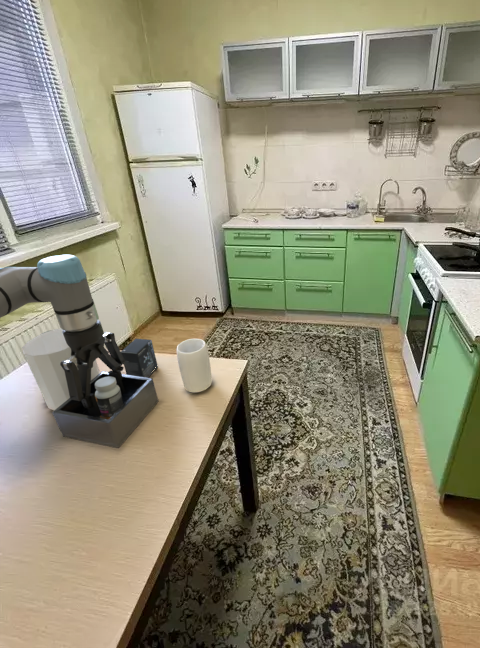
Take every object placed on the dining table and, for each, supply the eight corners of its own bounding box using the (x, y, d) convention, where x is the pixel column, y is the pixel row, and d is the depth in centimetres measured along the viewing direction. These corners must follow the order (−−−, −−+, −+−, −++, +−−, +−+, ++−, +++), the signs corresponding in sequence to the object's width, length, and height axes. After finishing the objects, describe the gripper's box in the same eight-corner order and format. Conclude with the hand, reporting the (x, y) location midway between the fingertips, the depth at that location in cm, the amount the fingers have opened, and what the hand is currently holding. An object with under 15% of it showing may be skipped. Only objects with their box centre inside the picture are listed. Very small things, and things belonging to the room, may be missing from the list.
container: (113, 388, 95) (95, 335, 88) (60, 419, 85) (35, 362, 77) (88, 372, 103) (70, 322, 95) (37, 398, 92) (12, 345, 84)
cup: (217, 378, 98) (211, 338, 92) (206, 397, 90) (199, 355, 84) (191, 376, 99) (183, 336, 93) (178, 395, 92) (169, 353, 86)
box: (144, 382, 97) (136, 353, 92) (128, 381, 98) (119, 351, 93) (158, 367, 104) (151, 339, 99) (143, 365, 105) (135, 337, 100)
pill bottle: (95, 418, 82) (86, 385, 79) (113, 405, 87) (106, 373, 84) (111, 423, 80) (103, 390, 77) (129, 409, 85) (122, 377, 82)
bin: (63, 437, 79) (51, 412, 76) (110, 393, 93) (102, 371, 90) (118, 448, 76) (109, 423, 72) (158, 401, 89) (152, 378, 86)
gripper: (54, 351, 62) (89, 437, 72) (126, 306, 81) (146, 379, 90) (24, 347, 64) (62, 431, 74) (101, 303, 82) (123, 376, 92)
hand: (108, 402), depth 82 cm, fingers open, 8 cm apart
